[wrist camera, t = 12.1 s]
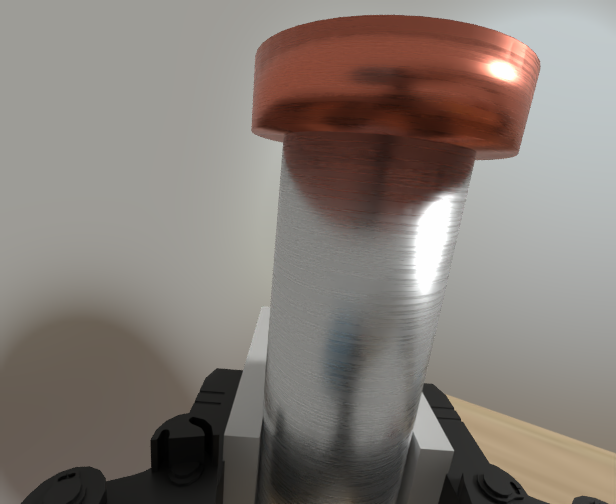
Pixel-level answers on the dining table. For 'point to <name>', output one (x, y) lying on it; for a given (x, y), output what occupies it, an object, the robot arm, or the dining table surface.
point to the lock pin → (369, 231)
